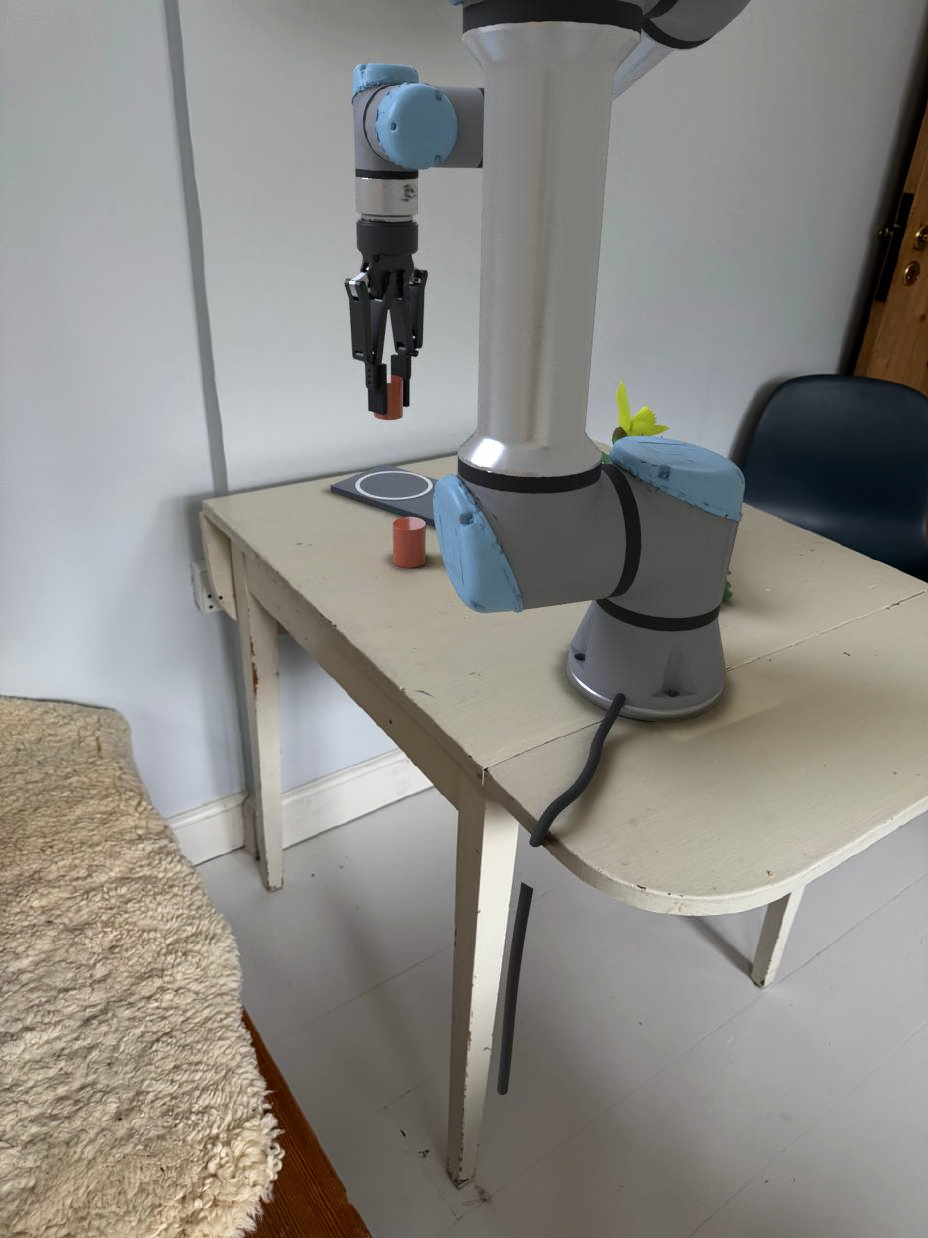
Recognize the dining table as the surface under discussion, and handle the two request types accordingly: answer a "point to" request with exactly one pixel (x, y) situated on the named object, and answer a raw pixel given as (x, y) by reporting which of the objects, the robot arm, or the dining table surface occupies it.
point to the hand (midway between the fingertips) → (389, 408)
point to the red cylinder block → (409, 542)
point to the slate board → (392, 491)
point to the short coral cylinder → (393, 399)
